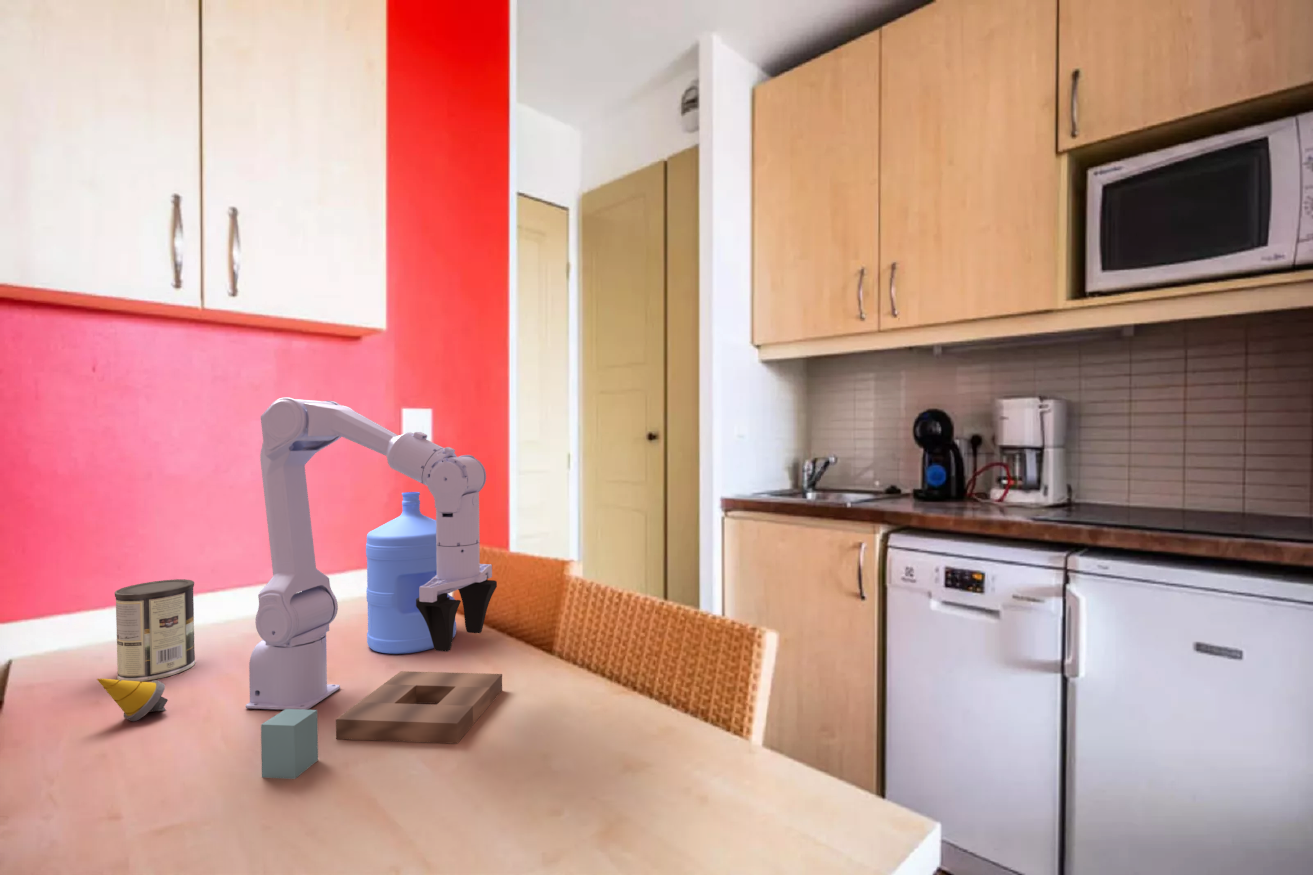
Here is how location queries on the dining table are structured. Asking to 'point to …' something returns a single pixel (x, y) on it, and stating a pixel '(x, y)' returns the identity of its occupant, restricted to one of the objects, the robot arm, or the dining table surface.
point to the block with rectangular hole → (421, 707)
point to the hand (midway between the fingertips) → (459, 640)
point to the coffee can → (155, 629)
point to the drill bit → (136, 696)
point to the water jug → (400, 580)
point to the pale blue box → (289, 743)
